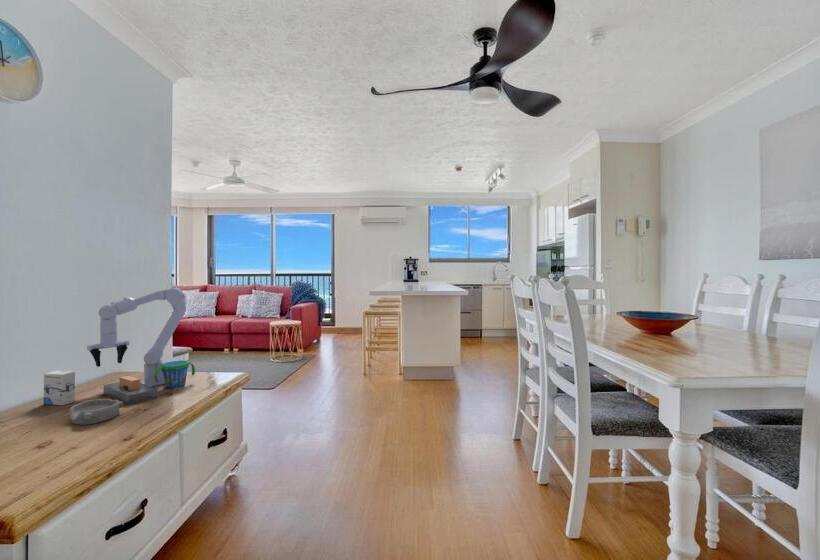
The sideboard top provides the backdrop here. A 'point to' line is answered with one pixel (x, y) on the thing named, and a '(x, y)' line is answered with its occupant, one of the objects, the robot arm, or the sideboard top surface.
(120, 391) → the grey slotted block
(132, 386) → the tan rectangular block
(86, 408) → the dish
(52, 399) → the ink box
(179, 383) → the snack cup
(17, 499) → the sideboard top surface
